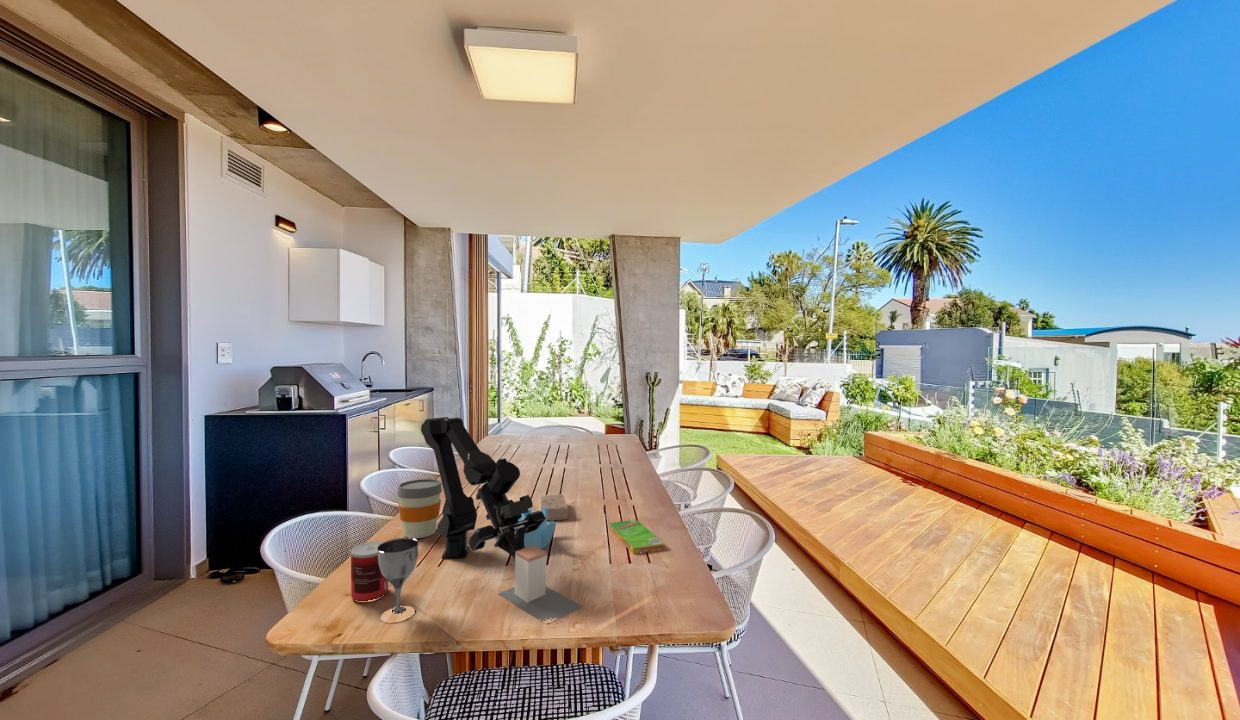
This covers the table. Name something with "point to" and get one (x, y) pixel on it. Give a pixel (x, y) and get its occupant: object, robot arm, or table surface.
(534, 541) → the teapot
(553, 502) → the brick
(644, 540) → the game box
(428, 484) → the reusable coffee cup
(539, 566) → the tall block
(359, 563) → the canned food
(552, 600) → the rubber mat
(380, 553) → the wine glass
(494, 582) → the table surface
